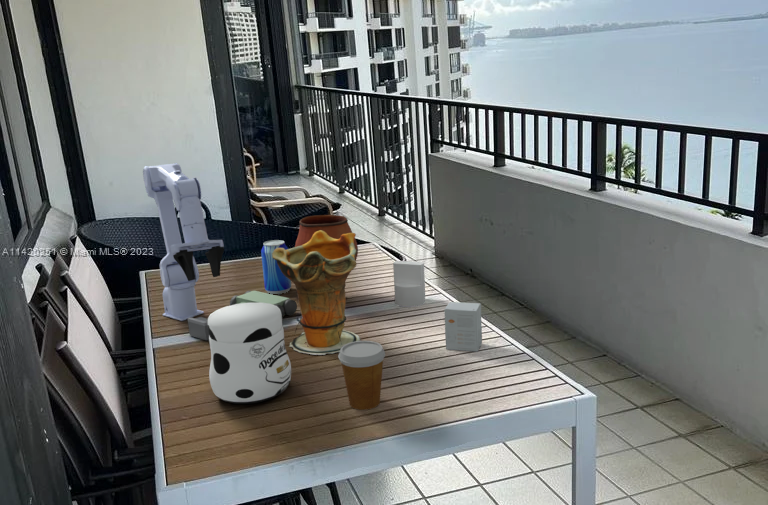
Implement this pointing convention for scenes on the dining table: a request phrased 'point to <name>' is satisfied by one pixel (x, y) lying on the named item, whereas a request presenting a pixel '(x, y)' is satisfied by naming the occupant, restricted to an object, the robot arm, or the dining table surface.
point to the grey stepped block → (198, 327)
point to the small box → (463, 326)
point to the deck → (266, 301)
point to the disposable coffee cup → (362, 373)
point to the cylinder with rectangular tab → (409, 283)
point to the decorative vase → (320, 290)
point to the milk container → (248, 353)
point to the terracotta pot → (323, 228)
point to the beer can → (273, 269)
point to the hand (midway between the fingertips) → (204, 278)
